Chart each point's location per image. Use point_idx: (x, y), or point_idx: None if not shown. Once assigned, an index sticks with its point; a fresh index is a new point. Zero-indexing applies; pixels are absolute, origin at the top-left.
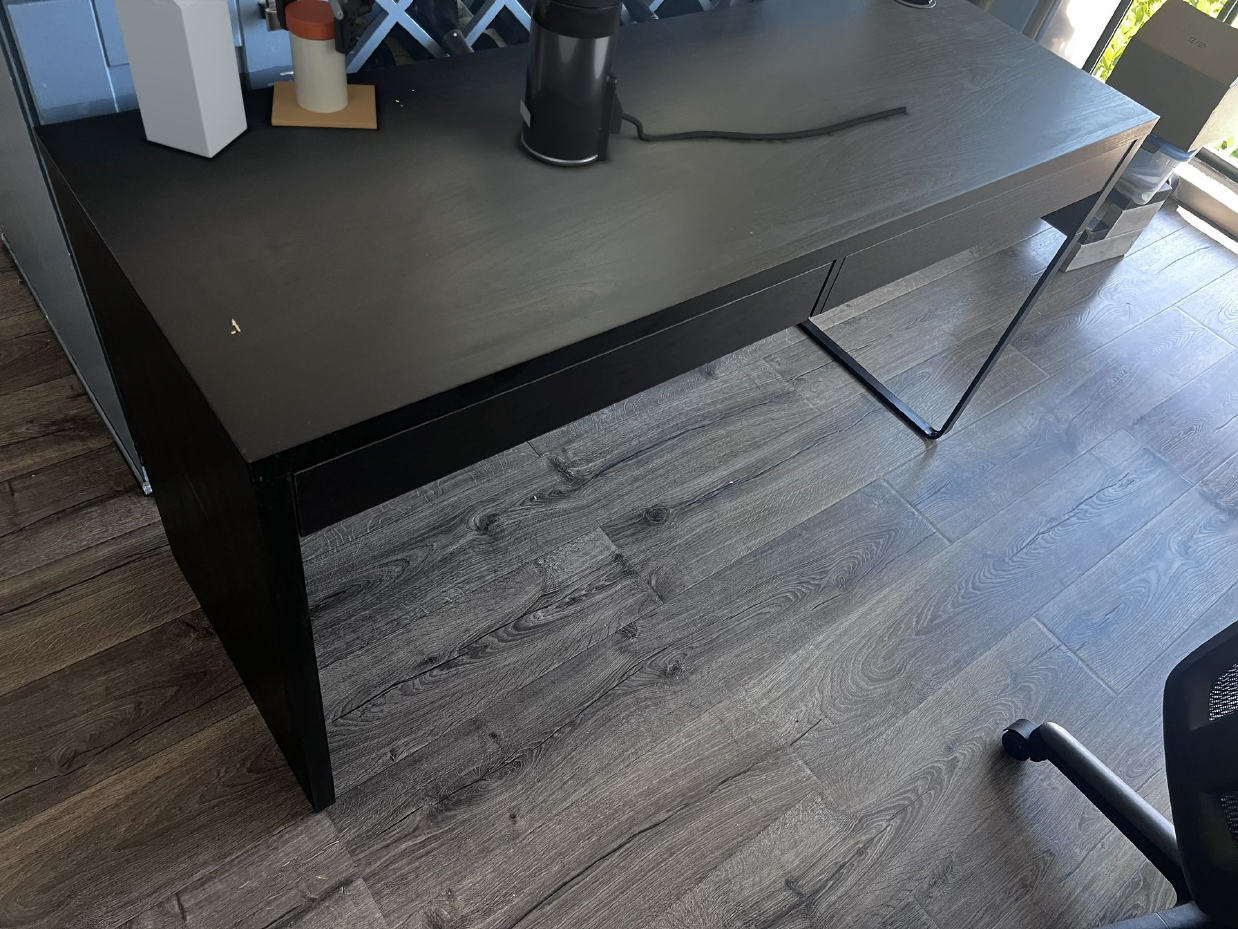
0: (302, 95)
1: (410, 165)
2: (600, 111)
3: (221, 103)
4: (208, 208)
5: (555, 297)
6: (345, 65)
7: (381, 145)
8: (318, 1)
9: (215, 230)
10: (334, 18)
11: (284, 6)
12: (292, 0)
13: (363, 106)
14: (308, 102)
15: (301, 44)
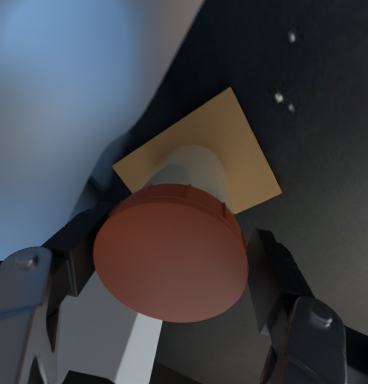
0: None
1: (349, 239)
2: None
3: (152, 322)
4: (206, 342)
5: None
6: (228, 189)
7: (299, 219)
8: (136, 219)
9: (225, 356)
10: (264, 334)
11: (92, 270)
12: (86, 252)
13: (246, 161)
14: None
15: None
